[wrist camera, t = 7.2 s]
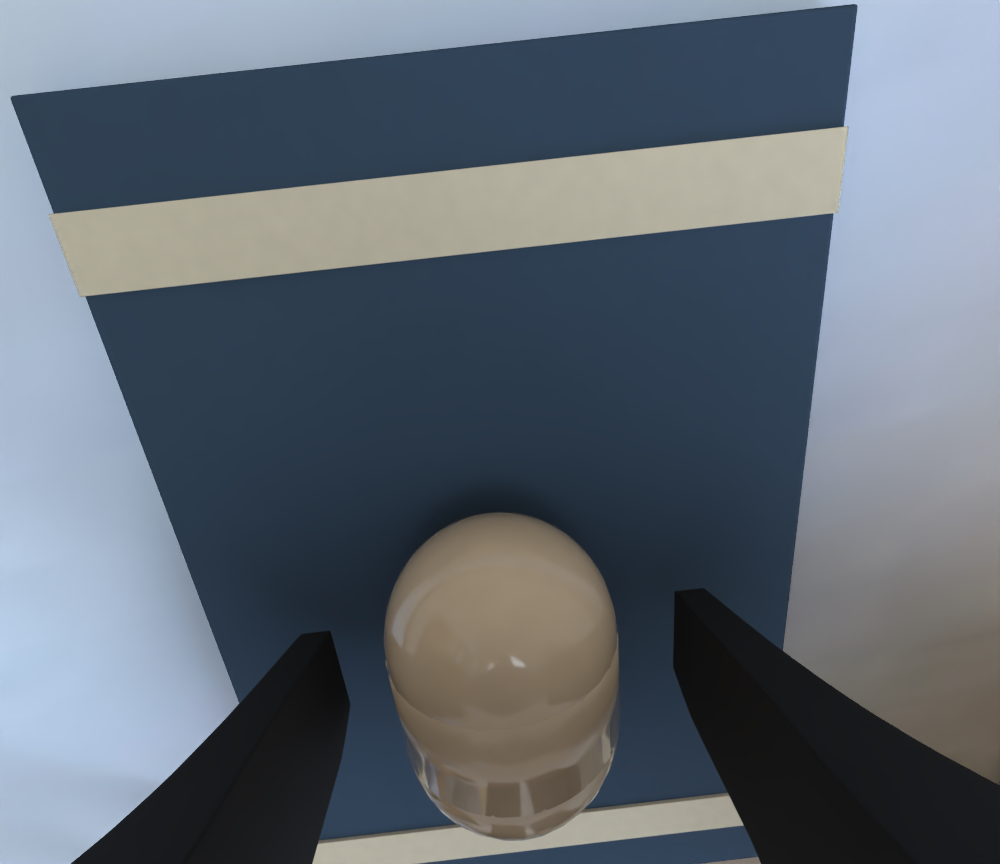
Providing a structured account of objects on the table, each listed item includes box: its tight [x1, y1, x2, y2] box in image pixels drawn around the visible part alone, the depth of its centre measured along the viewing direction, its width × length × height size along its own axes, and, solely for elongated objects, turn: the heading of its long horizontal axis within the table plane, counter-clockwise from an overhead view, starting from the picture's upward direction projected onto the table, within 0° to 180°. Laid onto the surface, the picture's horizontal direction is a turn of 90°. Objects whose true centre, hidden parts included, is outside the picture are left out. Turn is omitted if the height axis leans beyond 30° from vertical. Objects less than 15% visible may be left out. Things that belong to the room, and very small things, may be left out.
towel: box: [11, 4, 857, 864], centre depth 13 cm, size 22×14×1 cm, turn 6°
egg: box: [383, 512, 620, 841], centre depth 10 cm, size 6×4×4 cm
